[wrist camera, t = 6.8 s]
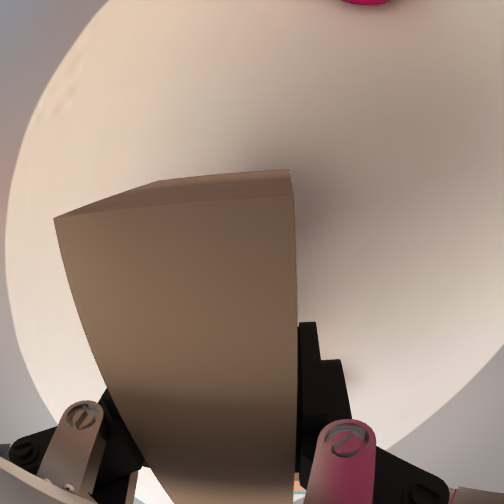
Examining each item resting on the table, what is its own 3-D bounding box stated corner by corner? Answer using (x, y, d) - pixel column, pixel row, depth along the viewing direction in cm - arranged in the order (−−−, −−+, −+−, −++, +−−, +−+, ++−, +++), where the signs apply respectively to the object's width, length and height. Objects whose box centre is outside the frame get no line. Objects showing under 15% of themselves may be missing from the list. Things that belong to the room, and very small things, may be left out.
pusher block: (158, 180, 9) (53, 218, 5) (288, 169, 9) (293, 195, 4) (211, 438, 13) (188, 522, 8) (293, 441, 13) (290, 531, 8)
